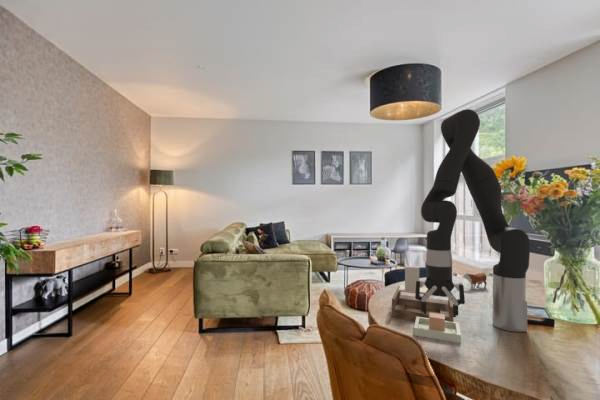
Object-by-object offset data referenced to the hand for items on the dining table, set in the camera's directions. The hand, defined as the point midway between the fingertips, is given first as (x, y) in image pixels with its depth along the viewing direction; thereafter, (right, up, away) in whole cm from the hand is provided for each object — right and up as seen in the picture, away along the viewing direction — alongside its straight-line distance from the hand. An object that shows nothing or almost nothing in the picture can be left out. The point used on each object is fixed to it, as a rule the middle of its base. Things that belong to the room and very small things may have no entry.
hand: (439, 314), depth 101 cm
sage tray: (-1, -6, +1) cm, 6 cm away
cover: (+4, +1, +23) cm, 24 cm away
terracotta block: (-1, -5, +1) cm, 5 cm away
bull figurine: (+41, -7, +55) cm, 69 cm away
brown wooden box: (+2, -6, +19) cm, 20 cm away
